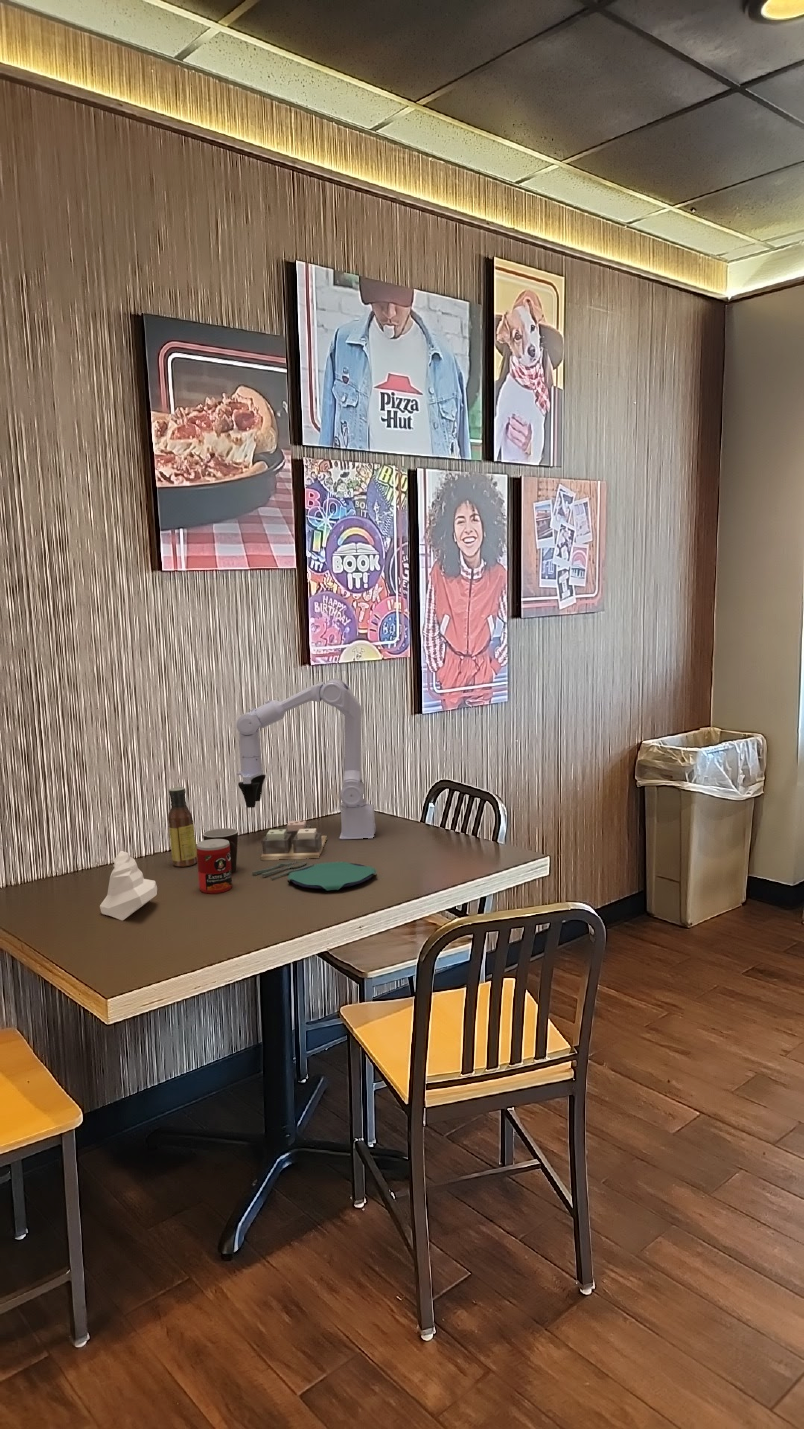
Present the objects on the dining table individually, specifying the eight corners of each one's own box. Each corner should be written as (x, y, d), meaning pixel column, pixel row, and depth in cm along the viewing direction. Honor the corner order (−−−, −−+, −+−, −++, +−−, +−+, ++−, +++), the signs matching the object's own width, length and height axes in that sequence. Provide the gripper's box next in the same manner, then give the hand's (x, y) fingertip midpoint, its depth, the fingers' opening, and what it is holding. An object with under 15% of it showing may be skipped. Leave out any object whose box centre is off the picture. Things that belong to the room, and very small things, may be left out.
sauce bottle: (200, 860, 249) (195, 785, 247) (193, 867, 243) (187, 790, 240) (176, 860, 250) (170, 786, 247) (168, 867, 244) (162, 791, 241)
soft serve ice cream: (92, 930, 205) (73, 866, 205) (122, 912, 220) (104, 852, 220) (145, 915, 203) (126, 851, 203) (172, 898, 218) (154, 838, 218)
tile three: (306, 830, 263) (305, 820, 263) (304, 834, 259) (303, 824, 258) (290, 831, 263) (289, 820, 263) (287, 835, 259) (287, 824, 258)
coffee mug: (205, 868, 242) (203, 829, 241) (240, 865, 244) (237, 826, 242) (204, 881, 231) (202, 841, 229) (241, 878, 232) (238, 838, 231)
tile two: (286, 839, 254) (286, 828, 254) (284, 844, 250) (283, 833, 249) (270, 840, 254) (269, 829, 254) (267, 844, 250) (266, 833, 250)
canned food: (207, 896, 220) (203, 849, 218) (194, 887, 226) (190, 842, 225) (238, 889, 224) (235, 843, 223) (224, 881, 231) (221, 836, 229)
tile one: (316, 838, 254) (316, 828, 254) (314, 843, 250) (314, 832, 249) (300, 839, 254) (299, 828, 254) (297, 843, 250) (297, 832, 249)
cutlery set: (333, 899, 214) (332, 889, 214) (244, 879, 233) (244, 870, 233) (391, 877, 229) (390, 868, 229) (303, 860, 248) (303, 852, 248)
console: (327, 839, 265) (326, 823, 265) (318, 858, 247) (317, 841, 246) (273, 840, 266) (272, 824, 265) (260, 860, 247) (259, 843, 247)
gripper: (241, 752, 273) (244, 798, 274) (230, 761, 258) (233, 810, 260) (266, 751, 272) (269, 797, 274) (256, 760, 258) (259, 809, 260)
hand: (253, 804), depth 267 cm, fingers open, 7 cm apart
